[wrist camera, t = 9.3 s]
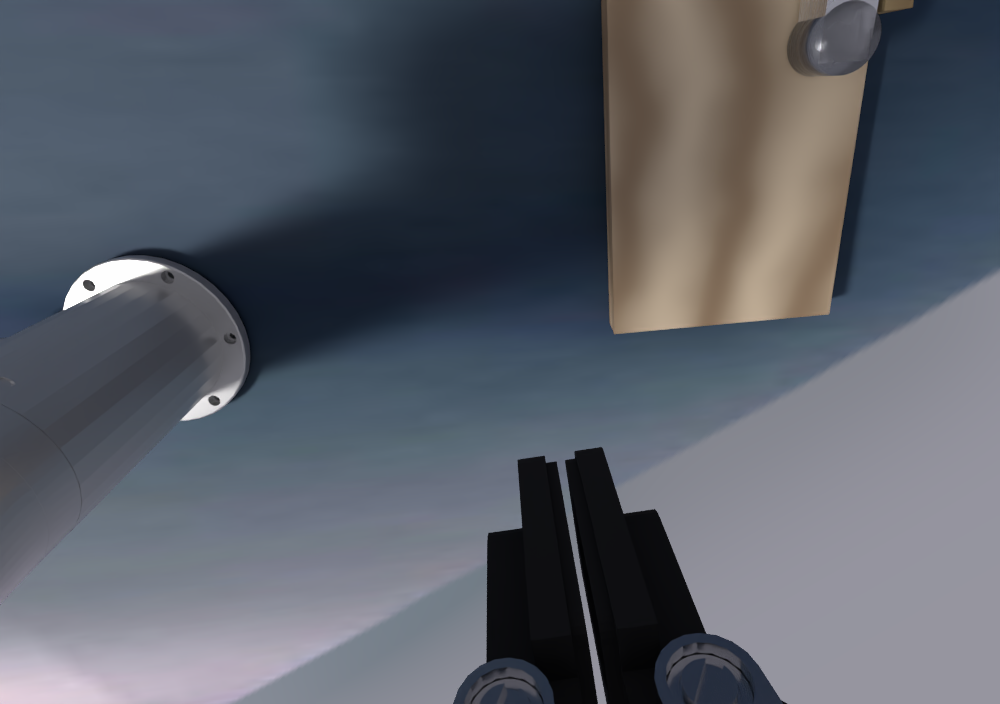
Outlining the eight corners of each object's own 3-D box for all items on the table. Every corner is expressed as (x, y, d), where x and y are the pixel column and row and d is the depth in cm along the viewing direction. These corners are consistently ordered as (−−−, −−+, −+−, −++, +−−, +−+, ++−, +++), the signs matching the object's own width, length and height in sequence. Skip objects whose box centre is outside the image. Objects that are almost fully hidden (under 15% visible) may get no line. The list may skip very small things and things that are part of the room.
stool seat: (609, 322, 39) (622, 353, 35) (600, -12, 31) (616, -29, 26) (814, 303, 38) (854, 332, 34) (863, -46, 30) (926, -69, 25)
